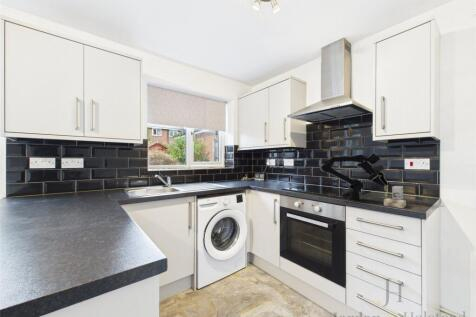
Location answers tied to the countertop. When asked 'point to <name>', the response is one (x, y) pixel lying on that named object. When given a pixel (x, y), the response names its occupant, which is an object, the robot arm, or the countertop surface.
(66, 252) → the countertop surface
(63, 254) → the countertop surface
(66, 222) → the countertop surface
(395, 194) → the ink box
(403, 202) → the birch block
